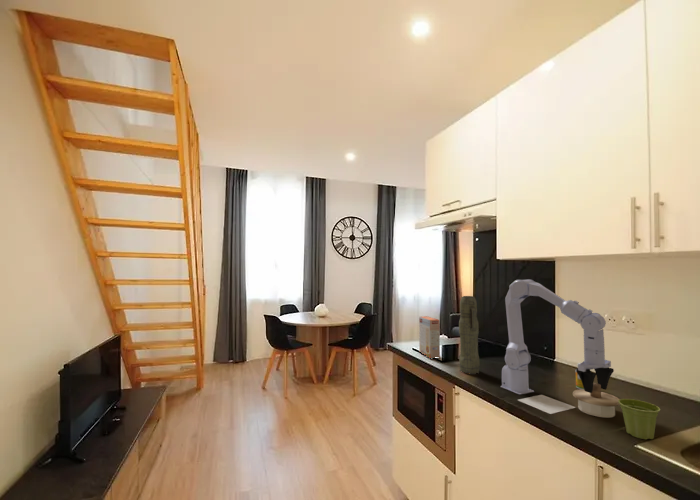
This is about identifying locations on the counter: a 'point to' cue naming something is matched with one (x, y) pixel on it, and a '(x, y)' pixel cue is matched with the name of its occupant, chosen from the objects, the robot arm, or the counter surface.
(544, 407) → the mat
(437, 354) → the cracker box
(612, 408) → the bowl
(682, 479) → the counter surface
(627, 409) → the plant pot
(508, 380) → the robot arm
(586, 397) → the lid
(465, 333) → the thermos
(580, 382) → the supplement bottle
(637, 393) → the counter surface
